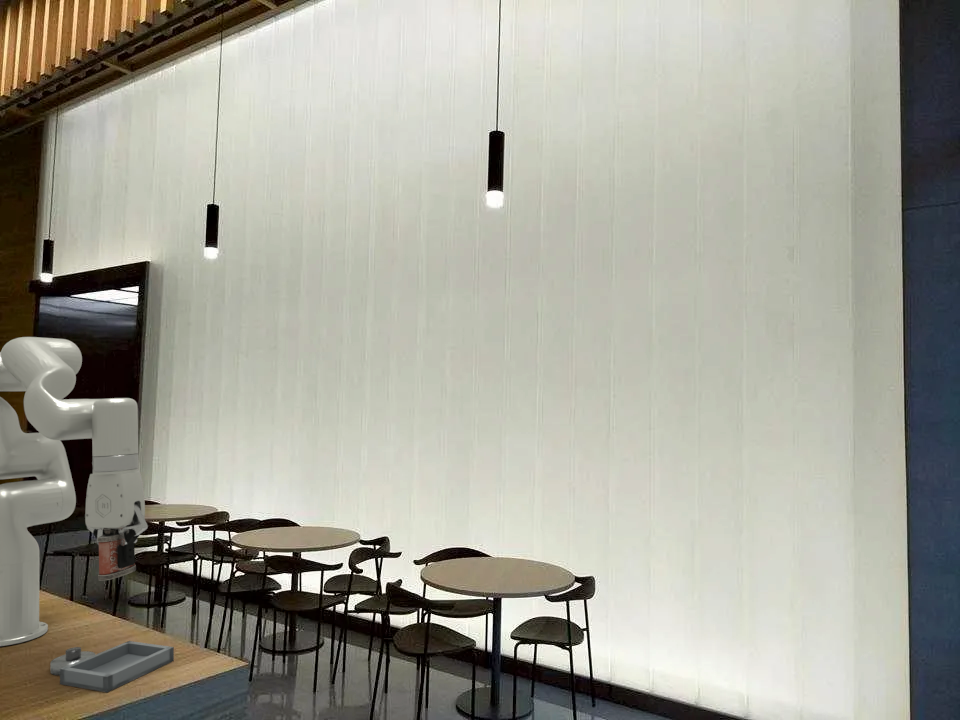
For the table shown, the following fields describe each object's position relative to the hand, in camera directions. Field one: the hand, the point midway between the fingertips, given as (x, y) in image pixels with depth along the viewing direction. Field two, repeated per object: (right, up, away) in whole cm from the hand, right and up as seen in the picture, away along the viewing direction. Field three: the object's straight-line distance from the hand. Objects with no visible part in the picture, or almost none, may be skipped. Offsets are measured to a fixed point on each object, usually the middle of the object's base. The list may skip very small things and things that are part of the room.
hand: (117, 565), depth 125 cm
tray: (+2, -18, -4) cm, 18 cm away
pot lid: (-7, -18, -1) cm, 20 cm away
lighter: (0, -2, 0) cm, 2 cm away
